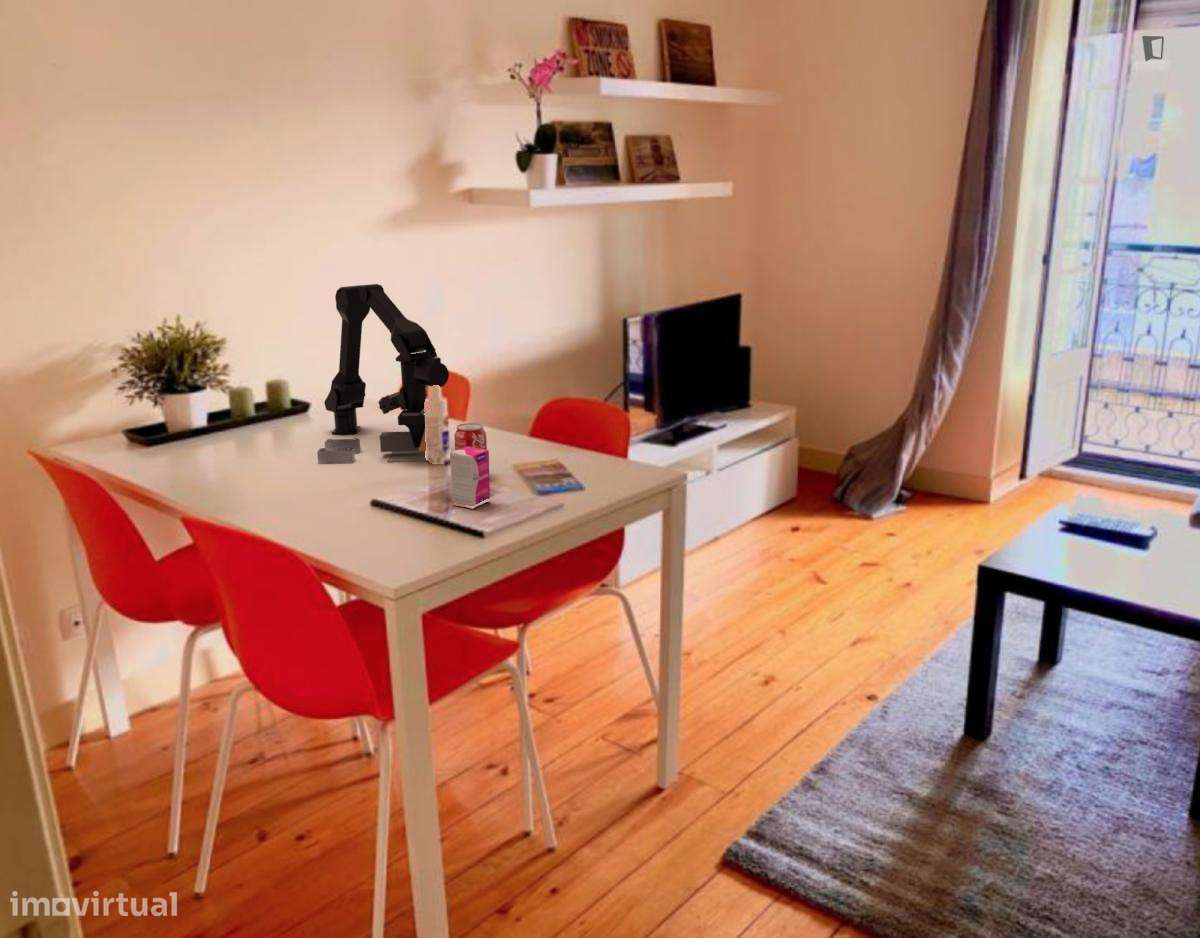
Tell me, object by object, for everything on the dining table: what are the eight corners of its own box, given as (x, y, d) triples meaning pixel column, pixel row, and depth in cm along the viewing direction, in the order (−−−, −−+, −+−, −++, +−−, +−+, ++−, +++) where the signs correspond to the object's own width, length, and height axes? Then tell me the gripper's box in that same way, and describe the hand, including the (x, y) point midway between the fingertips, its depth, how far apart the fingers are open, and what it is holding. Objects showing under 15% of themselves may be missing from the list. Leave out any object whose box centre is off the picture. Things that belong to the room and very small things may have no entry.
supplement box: (473, 510, 195) (471, 456, 192) (451, 505, 198) (448, 452, 195) (491, 502, 200) (489, 449, 196) (469, 497, 203) (466, 445, 199)
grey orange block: (383, 448, 234) (381, 432, 233) (428, 446, 235) (427, 430, 234) (380, 452, 231) (379, 436, 230) (427, 450, 232) (426, 434, 230)
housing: (327, 451, 238) (326, 438, 237) (360, 450, 238) (359, 437, 237) (318, 463, 227) (317, 450, 226) (352, 462, 228) (351, 449, 227)
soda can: (491, 473, 219) (488, 422, 215) (484, 483, 212) (482, 430, 209) (460, 472, 220) (457, 421, 216) (453, 482, 213) (450, 429, 209)
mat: (393, 449, 239) (393, 448, 238) (438, 448, 239) (438, 447, 239) (386, 462, 228) (386, 461, 228) (433, 461, 229) (433, 460, 229)
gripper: (385, 374, 237) (390, 436, 241) (373, 390, 219) (378, 456, 224) (431, 373, 237) (435, 434, 242) (422, 389, 220) (426, 455, 224)
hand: (418, 445), depth 233 cm, fingers closed on grey orange block, 4 cm apart
